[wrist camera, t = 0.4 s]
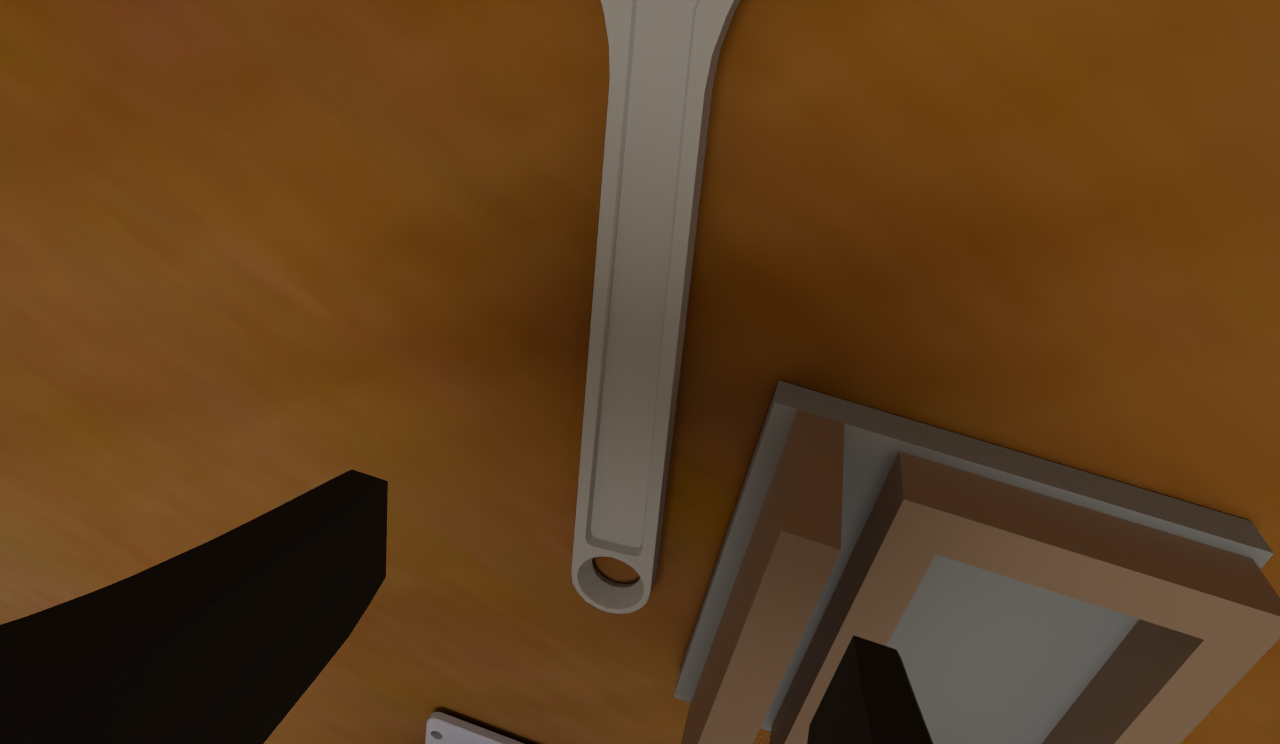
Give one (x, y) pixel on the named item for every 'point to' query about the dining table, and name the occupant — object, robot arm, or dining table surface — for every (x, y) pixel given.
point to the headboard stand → (968, 589)
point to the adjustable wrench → (642, 281)
